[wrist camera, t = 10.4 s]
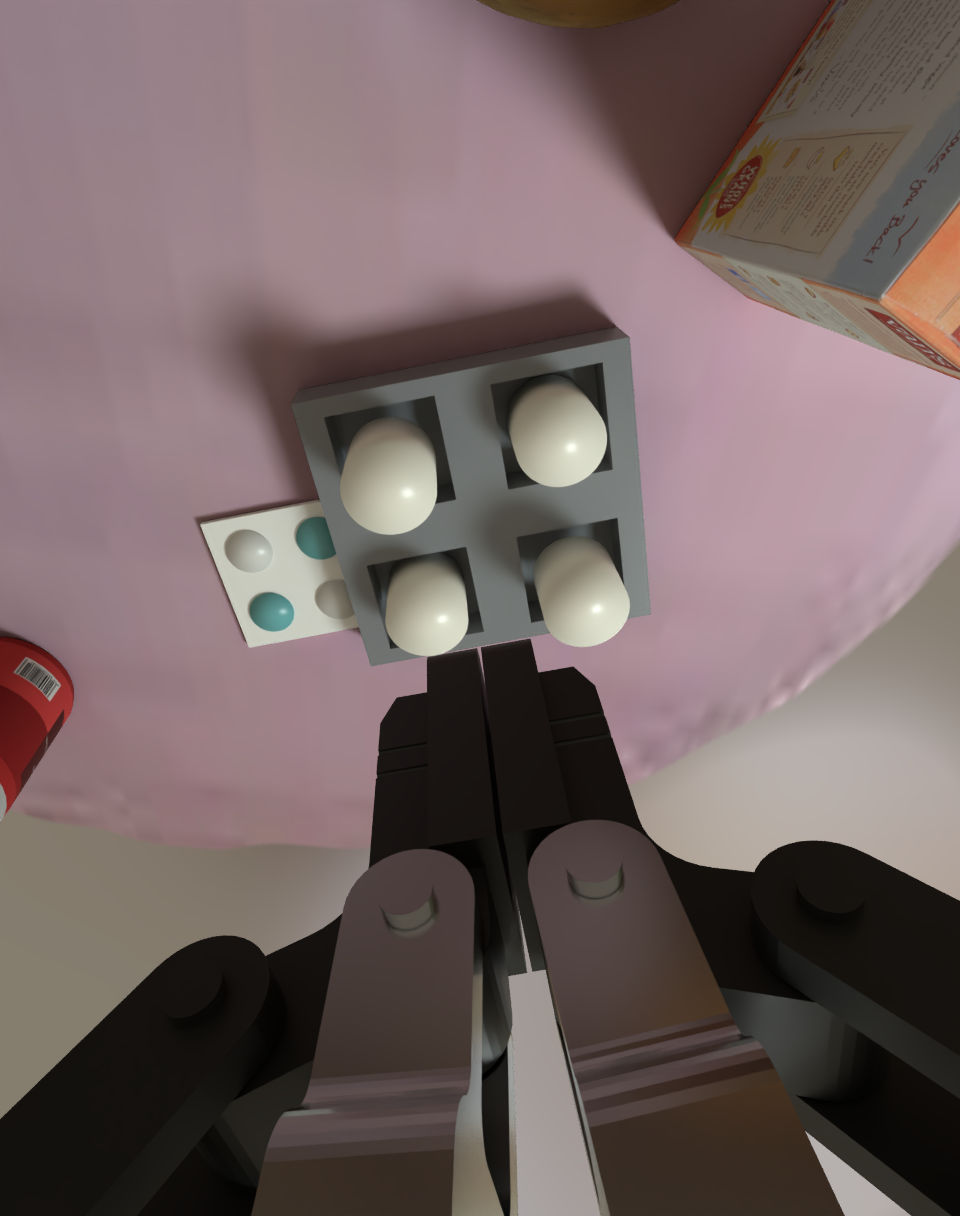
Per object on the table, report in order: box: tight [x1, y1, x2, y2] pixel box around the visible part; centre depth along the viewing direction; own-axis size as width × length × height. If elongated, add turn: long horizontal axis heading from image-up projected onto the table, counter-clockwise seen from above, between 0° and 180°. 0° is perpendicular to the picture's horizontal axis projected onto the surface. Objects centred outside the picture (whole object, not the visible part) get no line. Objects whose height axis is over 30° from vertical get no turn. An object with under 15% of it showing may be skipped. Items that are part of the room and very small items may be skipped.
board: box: [291, 327, 651, 666], centre depth 46 cm, size 18×17×3 cm
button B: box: [506, 375, 607, 487], centre depth 42 cm, size 5×5×5 cm
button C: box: [385, 552, 468, 656], centre depth 46 cm, size 5×5×5 cm
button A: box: [340, 417, 437, 535], centre depth 40 cm, size 5×5×5 cm
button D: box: [533, 536, 630, 647], centre depth 44 cm, size 5×5×5 cm
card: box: [200, 499, 359, 648], centre depth 48 cm, size 9×9×1 cm
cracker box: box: [674, 0, 960, 380], centre depth 29 cm, size 14×6×21 cm, turn 148°
